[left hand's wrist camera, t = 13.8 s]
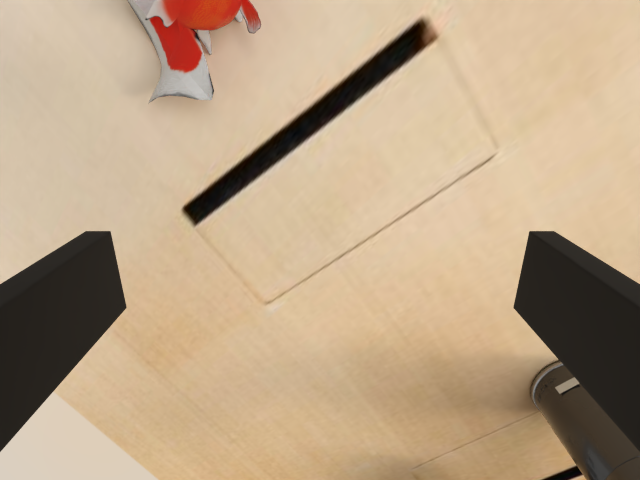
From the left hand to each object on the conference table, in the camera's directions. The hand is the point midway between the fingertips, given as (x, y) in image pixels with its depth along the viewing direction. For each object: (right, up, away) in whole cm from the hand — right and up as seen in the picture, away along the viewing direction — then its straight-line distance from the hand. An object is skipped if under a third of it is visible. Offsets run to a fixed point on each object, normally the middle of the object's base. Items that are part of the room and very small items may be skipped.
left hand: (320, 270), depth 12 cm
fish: (-11, +20, +25) cm, 34 cm away
